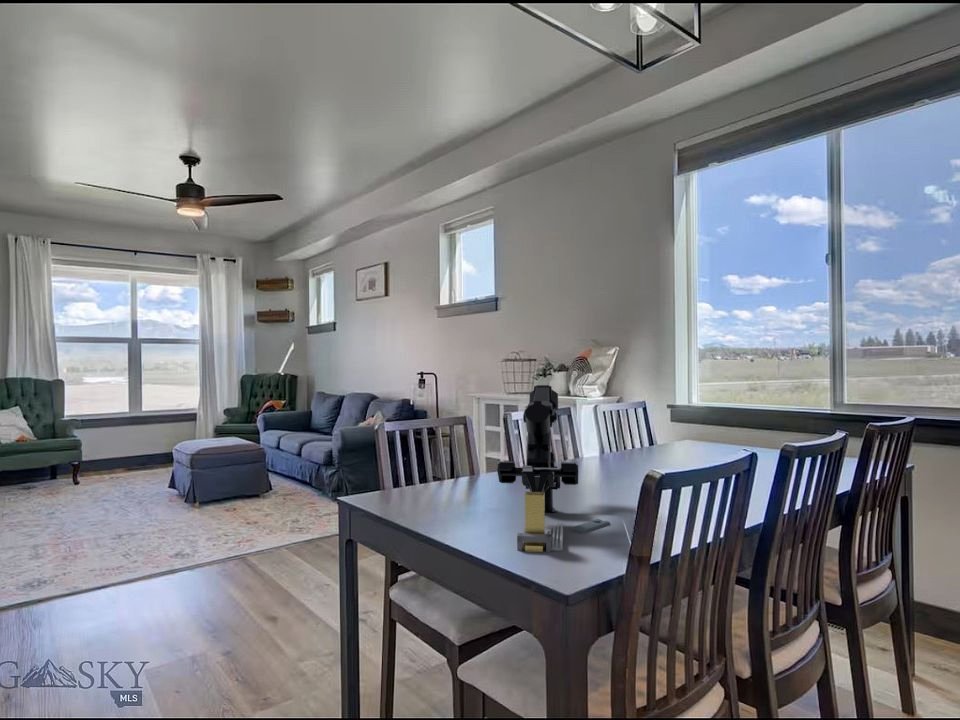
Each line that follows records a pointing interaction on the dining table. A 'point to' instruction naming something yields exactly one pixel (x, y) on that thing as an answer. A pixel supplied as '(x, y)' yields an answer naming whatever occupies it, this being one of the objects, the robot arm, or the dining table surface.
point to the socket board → (543, 539)
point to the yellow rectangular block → (534, 519)
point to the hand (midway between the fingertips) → (536, 505)
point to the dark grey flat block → (590, 526)
